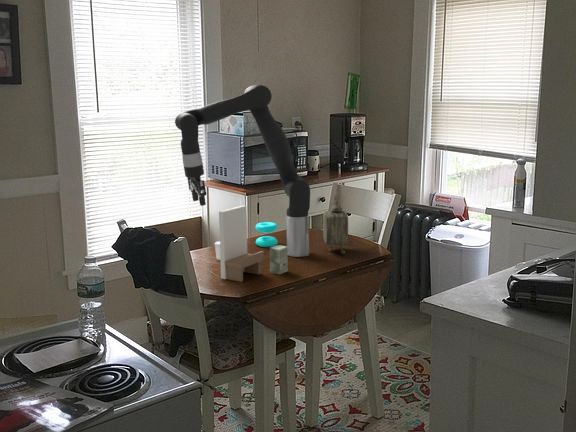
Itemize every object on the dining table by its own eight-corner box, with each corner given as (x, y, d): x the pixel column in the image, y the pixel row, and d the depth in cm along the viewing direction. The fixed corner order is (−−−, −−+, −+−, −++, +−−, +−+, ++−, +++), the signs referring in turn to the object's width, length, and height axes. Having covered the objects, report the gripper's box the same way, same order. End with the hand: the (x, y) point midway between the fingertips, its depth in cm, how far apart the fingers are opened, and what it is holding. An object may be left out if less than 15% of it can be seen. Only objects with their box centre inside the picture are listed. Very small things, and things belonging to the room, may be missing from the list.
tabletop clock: (347, 255, 271) (348, 198, 266) (326, 256, 270) (327, 198, 265) (342, 246, 285) (343, 192, 280) (322, 247, 284) (323, 192, 279)
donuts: (271, 220, 294) (281, 224, 285) (271, 241, 296) (281, 246, 287) (251, 223, 289) (261, 227, 281) (252, 244, 291) (262, 249, 283)
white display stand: (264, 273, 246) (263, 208, 241) (241, 282, 235) (240, 214, 229) (243, 269, 251) (242, 205, 246) (221, 278, 240) (218, 211, 235)
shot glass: (224, 261, 263) (224, 245, 262) (211, 259, 267) (211, 243, 265) (234, 257, 269) (234, 241, 267) (221, 255, 272) (221, 239, 271)
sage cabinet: (289, 271, 249) (289, 246, 246) (281, 275, 244) (281, 250, 242) (278, 269, 252) (277, 244, 250) (269, 272, 247) (269, 248, 245)
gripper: (208, 164, 244) (214, 204, 249) (196, 159, 256) (202, 197, 261) (189, 168, 241) (196, 209, 246) (178, 162, 253) (184, 201, 258)
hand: (199, 202), depth 254 cm, fingers open, 8 cm apart
